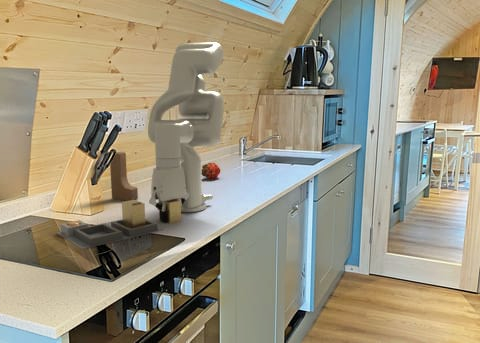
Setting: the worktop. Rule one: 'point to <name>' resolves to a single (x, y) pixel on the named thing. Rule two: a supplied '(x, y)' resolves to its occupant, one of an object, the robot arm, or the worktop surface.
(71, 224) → the button
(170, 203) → the block
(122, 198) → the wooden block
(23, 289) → the worktop surface
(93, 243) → the grey compartment tray
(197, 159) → the robot arm
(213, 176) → the red bumpy rounded lump
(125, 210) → the block
